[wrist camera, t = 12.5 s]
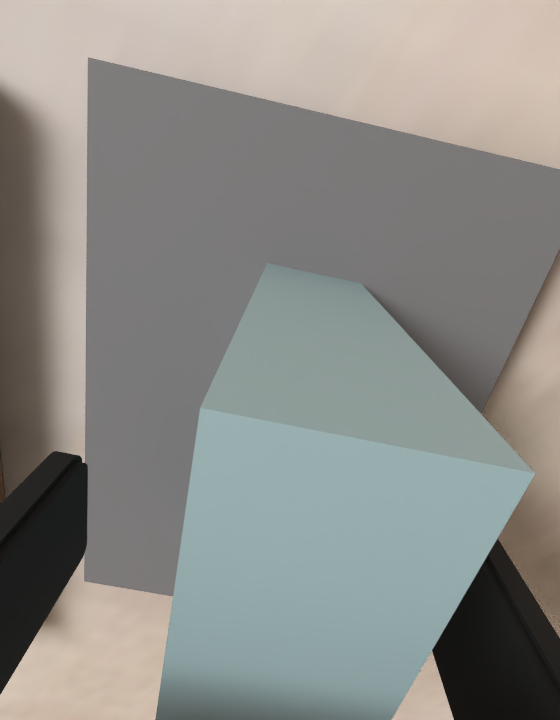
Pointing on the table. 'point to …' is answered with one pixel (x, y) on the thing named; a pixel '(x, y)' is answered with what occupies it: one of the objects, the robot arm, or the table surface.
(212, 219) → the mat
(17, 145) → the table surface
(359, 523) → the teal rectangular block
